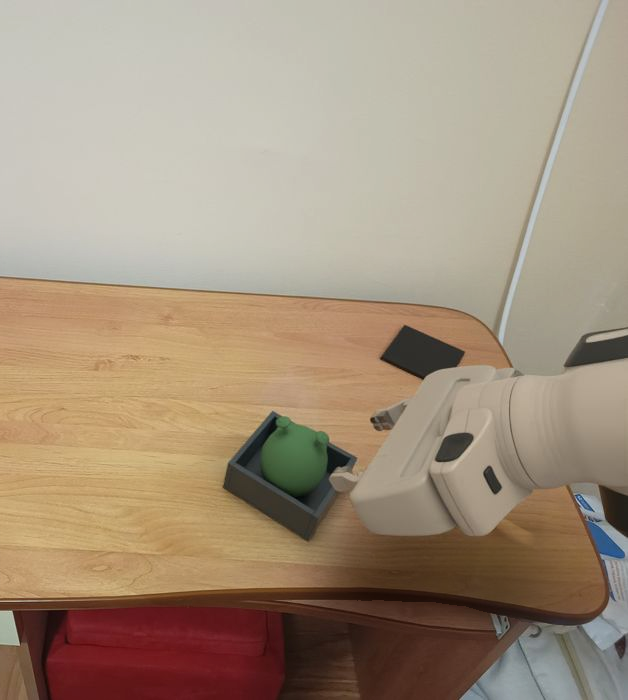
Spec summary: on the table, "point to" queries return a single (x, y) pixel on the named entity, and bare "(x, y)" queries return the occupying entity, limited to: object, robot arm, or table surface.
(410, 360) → the mat
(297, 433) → the alien toy
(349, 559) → the table surface
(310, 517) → the crate
